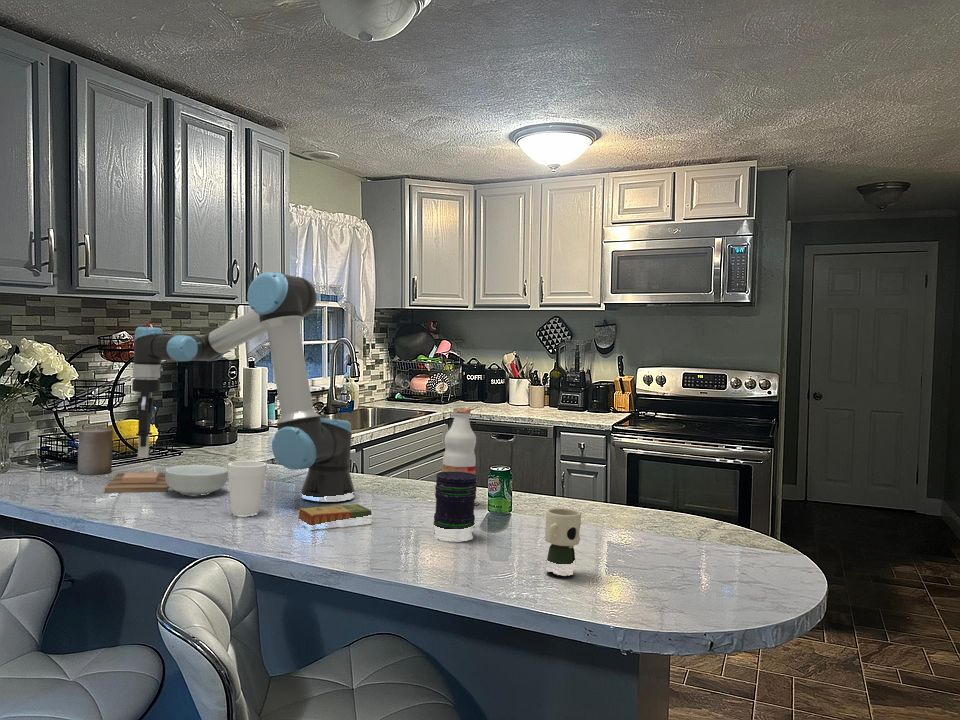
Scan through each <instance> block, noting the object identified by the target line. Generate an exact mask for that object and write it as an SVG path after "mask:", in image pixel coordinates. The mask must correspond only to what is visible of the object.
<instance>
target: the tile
mask: <svg viewBox="0 0 960 720" xmlns="http://www.w3.org/2000/svg"><path fill="white" fill-rule="evenodd" d="M125 473H126V474H125V475H124V476H123V477H122V483H123V484H147V483H156V482H157V480H158V478H159V473H160V471H126V472H125Z"/></svg>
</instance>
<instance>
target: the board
mask: <svg viewBox="0 0 960 720" xmlns="http://www.w3.org/2000/svg"><path fill="white" fill-rule="evenodd" d="M125 474H126V472H117V474H116V475H115V476H114V478H112V479H111V480H110V482H109V483H108V484H107V485H106V487H104V493H111V494H112V493H165V492H166V493H167V492H168V490H169V488H170V487H169V486H168V485H167V483H166V479H165V472H159V478H158V480H157V482H156V483H147V484H123V483H122V477H123V476H124V475H125Z"/></svg>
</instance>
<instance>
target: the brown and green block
mask: <svg viewBox="0 0 960 720" xmlns="http://www.w3.org/2000/svg"><path fill="white" fill-rule="evenodd" d="M368 515H372V510H371V509H370V508H367V507H365V506H363V505H360V504H358V503H354V504H342V505H341V504H340V505H329V506H327V505H326V506H315V507H304V508H302V507H301V508H299V510H298V520H299V519H301V520H302V521H304V522H306V523H307V524H309V525H315V524H321V523H325V522H331V521H336V520H343V519H349V518H356V517H363V516H368ZM372 516H373V515H372Z"/></svg>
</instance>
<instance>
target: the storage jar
mask: <svg viewBox="0 0 960 720" xmlns="http://www.w3.org/2000/svg"><path fill="white" fill-rule="evenodd" d="M435 478H436V480H435V485H434V486H435V487H434V488H435V493H434V495H435V498H436V499H435V512H434V514H433V515H434V516H433V525H435V526H437V527H440V528H444V529H464V528H468V527H471V526H473V525H474V524H476V522H475V520H476V518H475V517H476V516H475V501H476V498H477V475H476V473H475V474H471V473H466V472H443V471H440V472H438V473H436V476H435Z"/></svg>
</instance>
